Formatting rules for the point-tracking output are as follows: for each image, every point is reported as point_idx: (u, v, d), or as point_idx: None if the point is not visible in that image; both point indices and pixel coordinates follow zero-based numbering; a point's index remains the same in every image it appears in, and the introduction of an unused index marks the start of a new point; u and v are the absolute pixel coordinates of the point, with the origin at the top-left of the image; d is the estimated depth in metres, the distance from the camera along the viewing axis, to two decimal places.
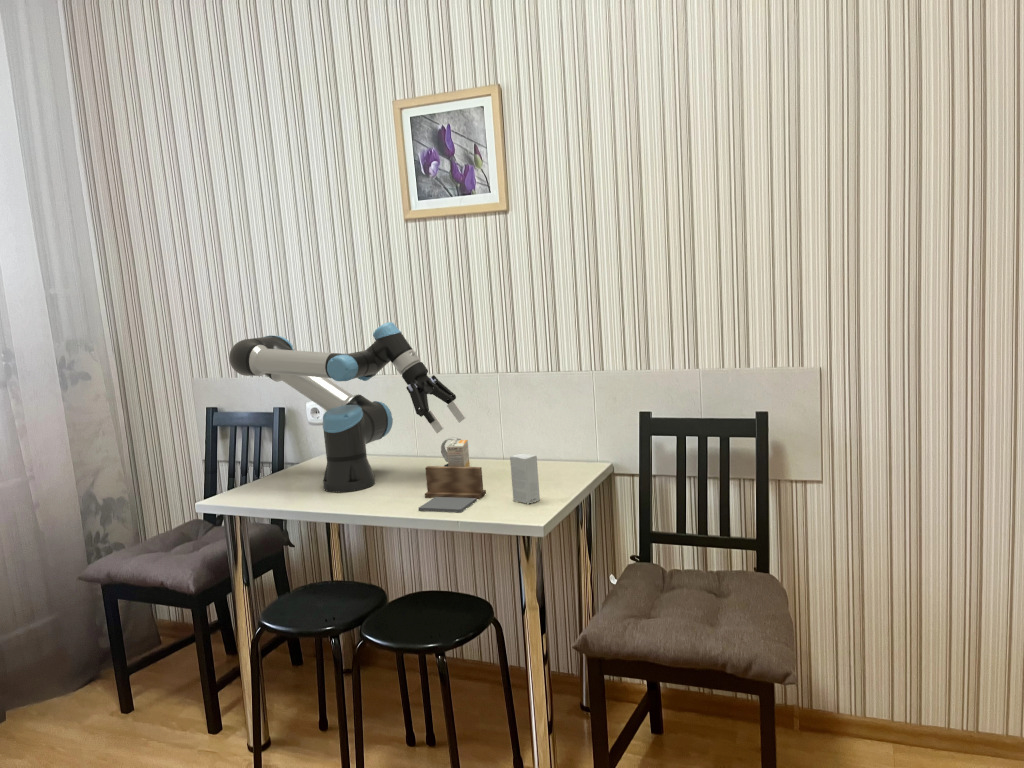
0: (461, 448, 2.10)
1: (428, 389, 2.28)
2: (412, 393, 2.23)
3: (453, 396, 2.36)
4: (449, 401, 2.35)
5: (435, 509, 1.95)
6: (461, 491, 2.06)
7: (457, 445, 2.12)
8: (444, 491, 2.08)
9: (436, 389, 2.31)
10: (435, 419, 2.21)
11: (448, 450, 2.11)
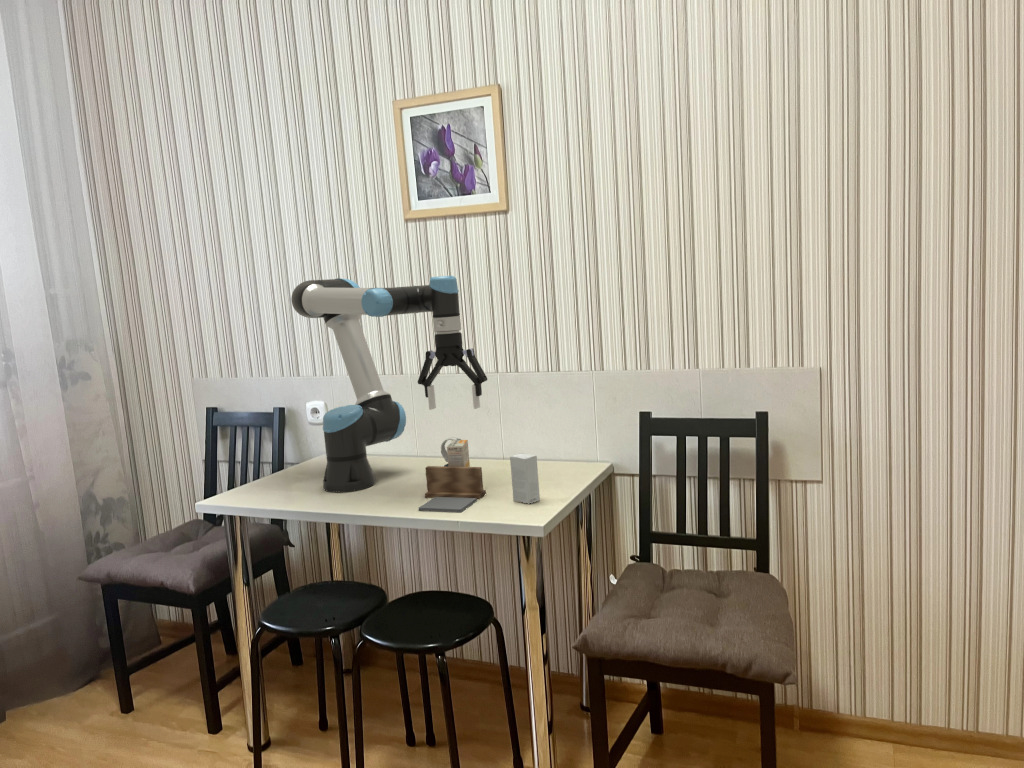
0: (461, 448, 2.10)
1: (446, 363, 2.11)
2: None
3: (479, 380, 2.08)
4: None
5: (435, 509, 1.95)
6: (461, 491, 2.06)
7: (457, 445, 2.12)
8: (444, 491, 2.08)
9: None
10: None
11: (448, 450, 2.11)
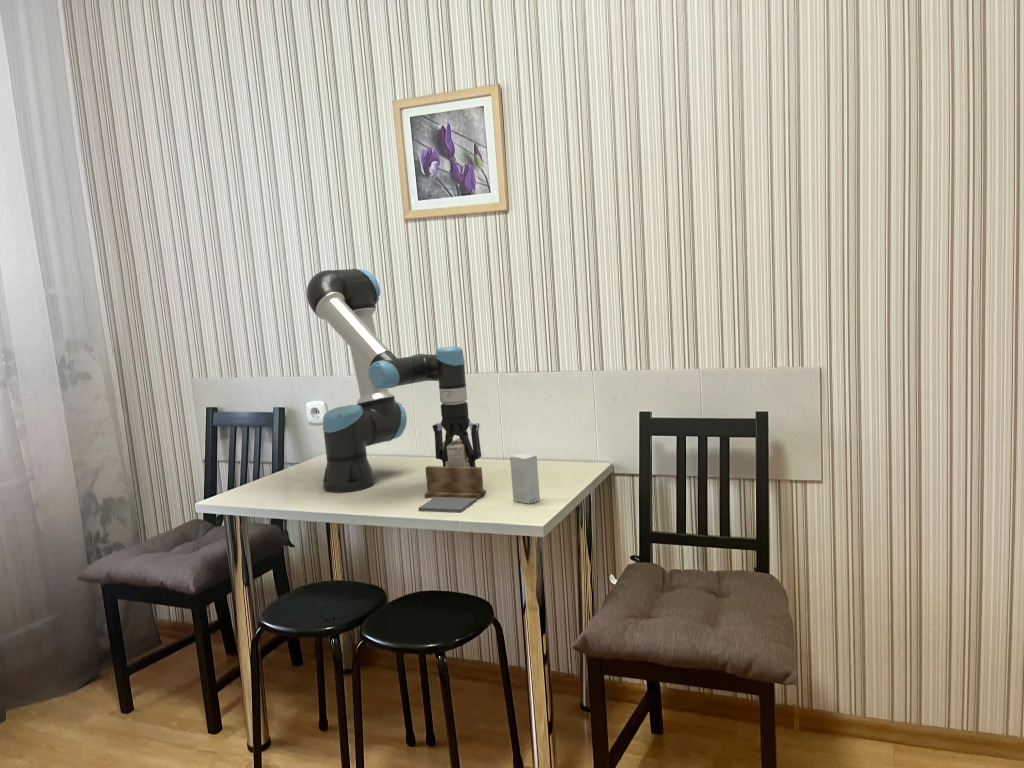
0: (461, 448, 2.10)
1: (452, 433, 2.14)
2: None
3: (474, 456, 2.12)
4: None
5: (435, 509, 1.95)
6: (461, 491, 2.06)
7: (457, 445, 2.12)
8: (444, 491, 2.08)
9: None
10: None
11: (448, 450, 2.11)
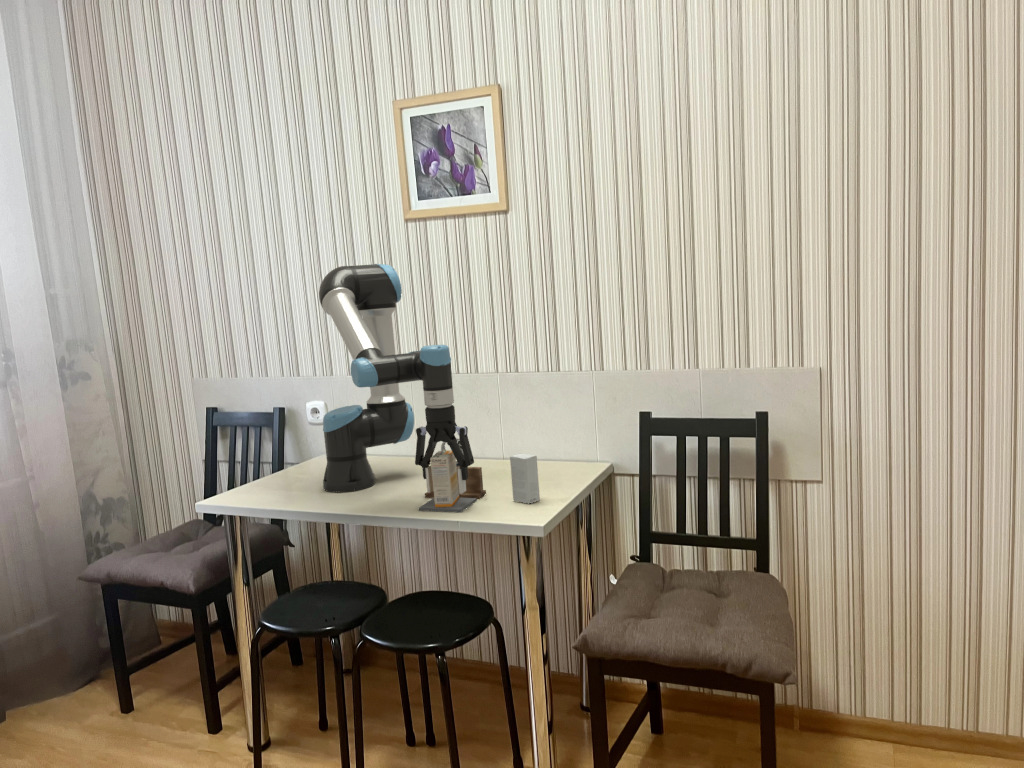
0: (446, 460, 1.93)
1: (437, 439, 1.96)
2: None
3: (466, 463, 1.94)
4: None
5: (435, 509, 1.95)
6: None
7: (442, 456, 1.94)
8: None
9: None
10: None
11: (432, 462, 1.94)
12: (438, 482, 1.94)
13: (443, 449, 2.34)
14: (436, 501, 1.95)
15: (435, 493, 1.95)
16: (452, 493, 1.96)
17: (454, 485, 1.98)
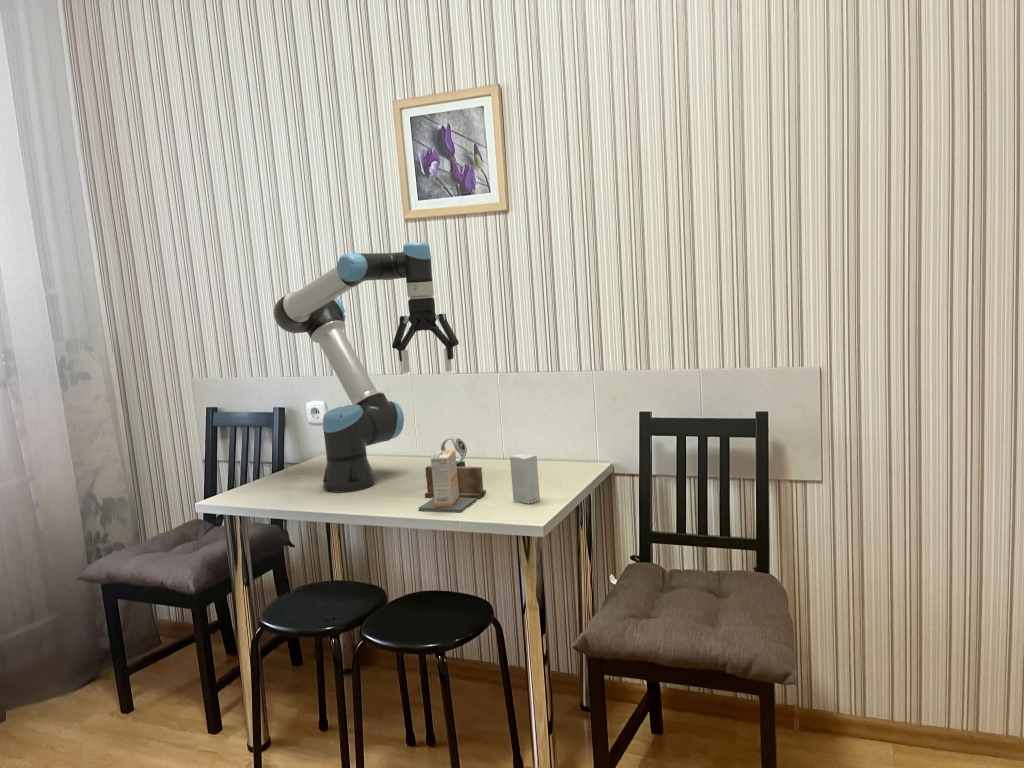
0: (446, 460, 1.93)
1: (419, 328, 2.18)
2: None
3: (451, 344, 2.15)
4: None
5: (435, 509, 1.95)
6: (461, 491, 2.06)
7: (442, 456, 1.94)
8: None
9: None
10: None
11: (432, 462, 1.94)
12: (438, 482, 1.94)
13: (443, 449, 2.34)
14: (436, 501, 1.95)
15: (435, 493, 1.95)
16: (452, 494, 1.96)
17: (454, 485, 1.98)
